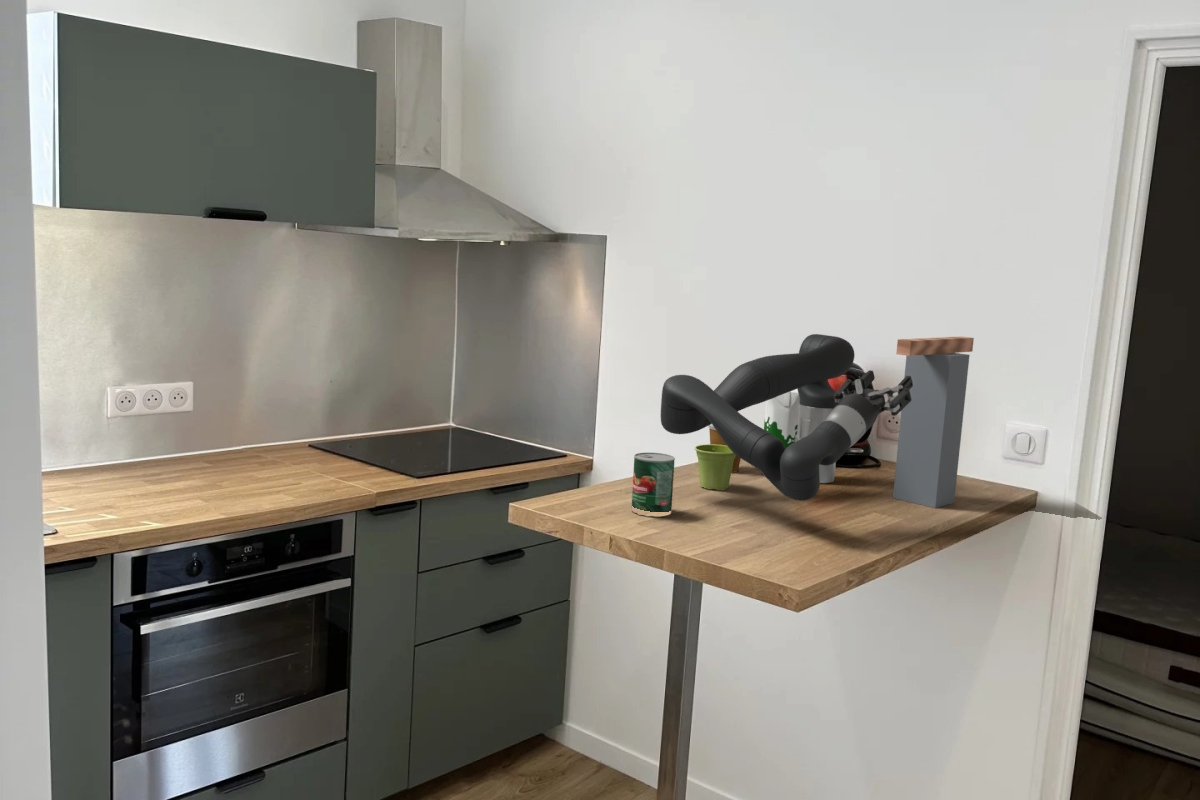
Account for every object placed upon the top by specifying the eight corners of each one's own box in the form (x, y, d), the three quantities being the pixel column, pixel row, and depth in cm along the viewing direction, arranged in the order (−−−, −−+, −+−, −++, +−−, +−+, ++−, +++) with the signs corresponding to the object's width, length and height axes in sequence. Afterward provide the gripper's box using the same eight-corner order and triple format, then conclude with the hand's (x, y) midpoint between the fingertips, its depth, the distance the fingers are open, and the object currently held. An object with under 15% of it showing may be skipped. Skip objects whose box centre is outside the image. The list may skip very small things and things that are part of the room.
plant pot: (713, 494, 218) (716, 454, 217) (683, 485, 226) (685, 446, 224) (744, 489, 224) (747, 450, 223) (713, 480, 231) (716, 442, 230)
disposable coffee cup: (748, 468, 247) (752, 418, 245) (740, 476, 238) (744, 424, 236) (709, 463, 250) (713, 414, 248) (700, 471, 241) (703, 420, 239)
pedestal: (935, 508, 216) (950, 356, 212) (892, 497, 224) (906, 350, 219) (954, 502, 222) (969, 354, 217) (912, 493, 229) (926, 349, 224)
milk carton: (762, 455, 263) (768, 377, 260) (798, 458, 261) (804, 380, 258) (760, 462, 255) (766, 381, 252) (798, 465, 253) (804, 384, 250)
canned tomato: (678, 511, 203) (681, 456, 202) (661, 519, 196) (664, 462, 195) (641, 504, 207) (645, 450, 205) (623, 512, 200) (627, 456, 198)
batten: (909, 355, 207) (910, 340, 207) (896, 354, 210) (897, 339, 209) (972, 351, 225) (973, 337, 225) (959, 350, 227) (960, 336, 227)
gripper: (876, 411, 191) (919, 365, 200) (812, 400, 202) (856, 356, 210) (884, 444, 195) (926, 397, 203) (820, 432, 205) (863, 387, 213)
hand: (890, 376), depth 207 cm, fingers open, 8 cm apart
